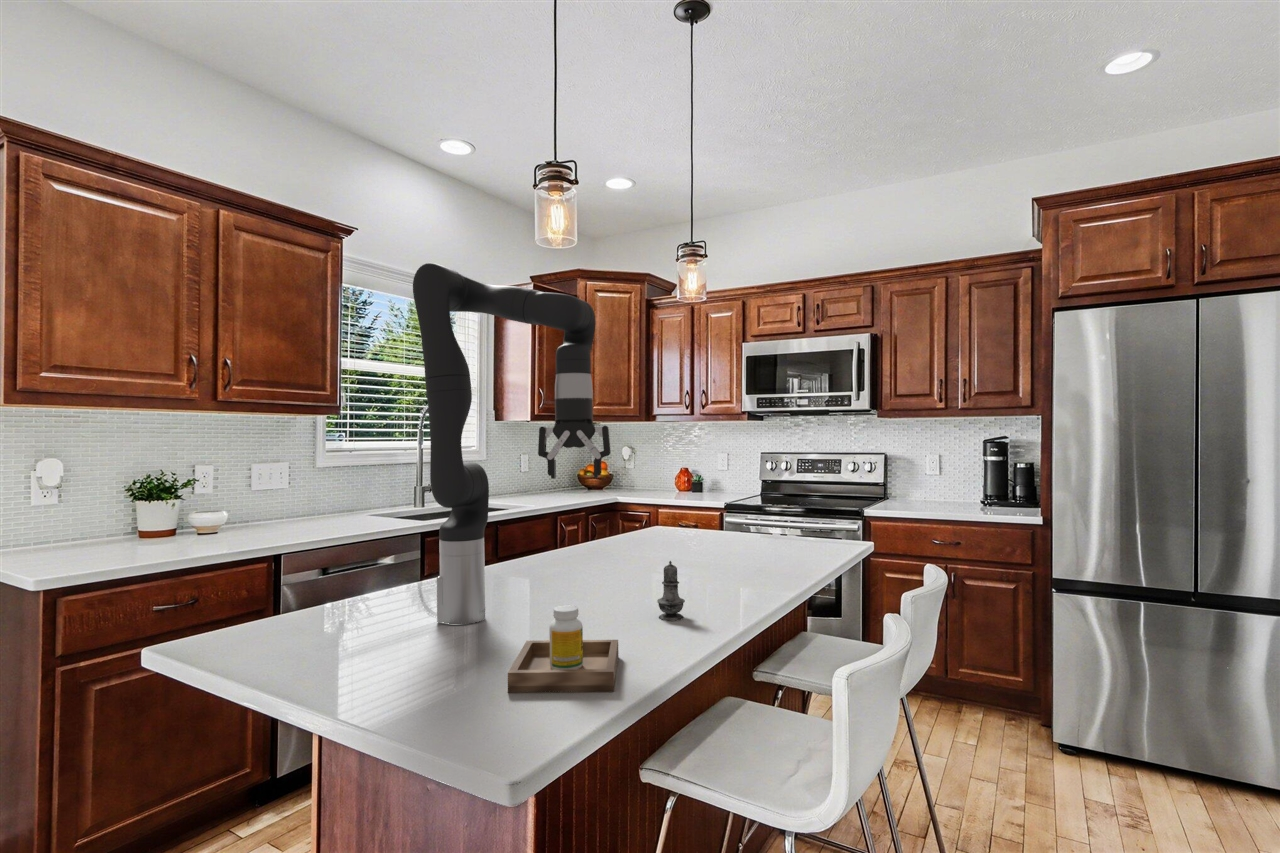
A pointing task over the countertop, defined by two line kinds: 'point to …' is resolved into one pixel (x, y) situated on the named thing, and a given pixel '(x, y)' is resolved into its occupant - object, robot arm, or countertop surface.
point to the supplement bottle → (566, 639)
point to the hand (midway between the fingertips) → (574, 478)
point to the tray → (539, 677)
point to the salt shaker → (670, 595)
